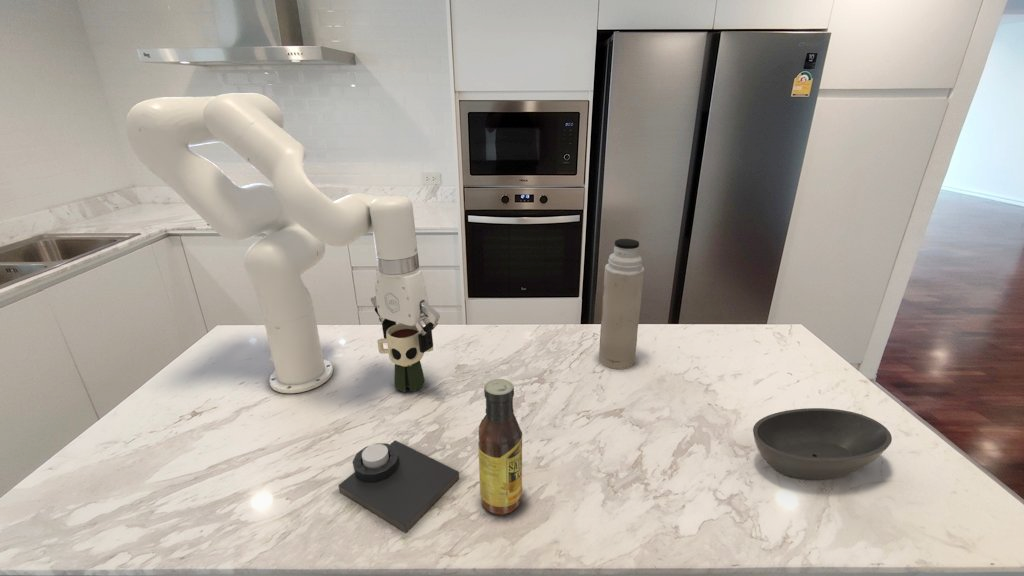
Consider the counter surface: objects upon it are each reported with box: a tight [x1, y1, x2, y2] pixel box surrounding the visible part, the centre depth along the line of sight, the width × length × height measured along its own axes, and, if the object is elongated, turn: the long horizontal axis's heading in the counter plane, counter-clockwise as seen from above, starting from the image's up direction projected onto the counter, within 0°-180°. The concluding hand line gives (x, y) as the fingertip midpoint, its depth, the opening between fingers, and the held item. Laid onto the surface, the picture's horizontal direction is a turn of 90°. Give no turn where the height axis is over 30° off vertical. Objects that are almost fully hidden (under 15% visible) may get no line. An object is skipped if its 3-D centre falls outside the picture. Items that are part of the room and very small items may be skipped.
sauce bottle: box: [478, 378, 523, 516], centre depth 68 cm, size 6×6×20 cm
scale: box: [338, 439, 460, 533], centre depth 75 cm, size 16×12×3 cm
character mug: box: [377, 323, 434, 393], centre depth 98 cm, size 11×7×13 cm, turn 94°
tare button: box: [362, 443, 389, 469], centre depth 76 cm, size 4×4×2 cm
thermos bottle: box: [598, 238, 645, 370], centre depth 103 cm, size 8×8×28 cm
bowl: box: [752, 407, 893, 482], centre depth 77 cm, size 12×22×6 cm, turn 99°
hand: (408, 343), depth 96 cm, fingers open, 9 cm apart
